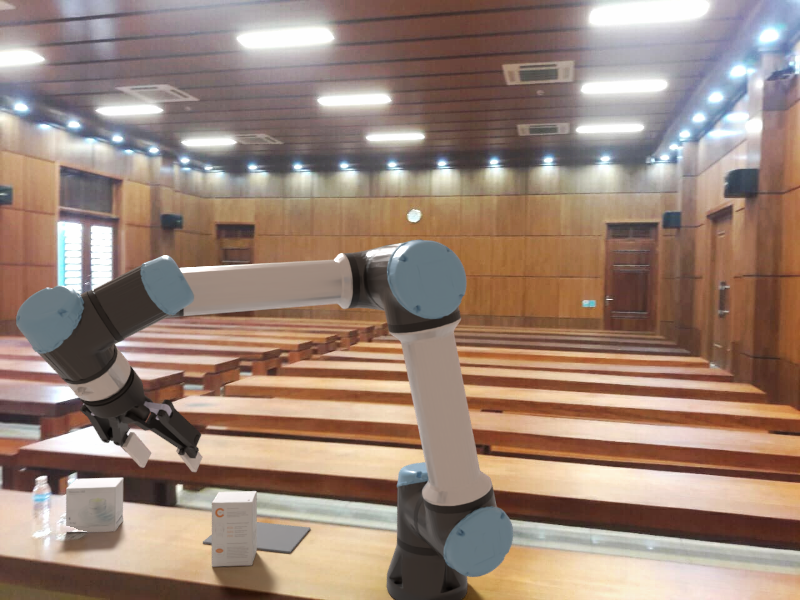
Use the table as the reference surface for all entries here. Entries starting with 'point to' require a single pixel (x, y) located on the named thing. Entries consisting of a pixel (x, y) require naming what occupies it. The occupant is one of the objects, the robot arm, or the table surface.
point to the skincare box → (95, 504)
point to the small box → (234, 528)
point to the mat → (276, 537)
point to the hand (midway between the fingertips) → (171, 462)
